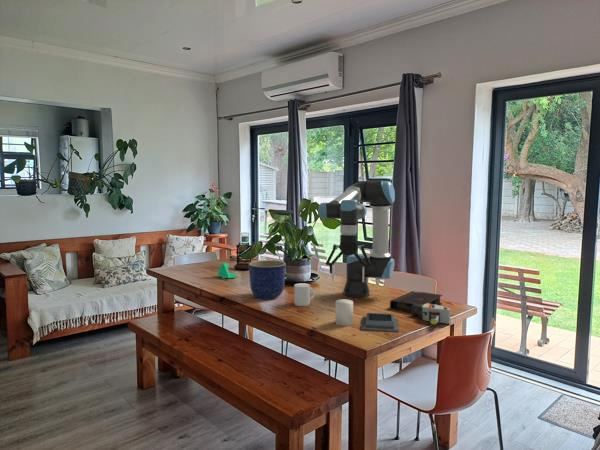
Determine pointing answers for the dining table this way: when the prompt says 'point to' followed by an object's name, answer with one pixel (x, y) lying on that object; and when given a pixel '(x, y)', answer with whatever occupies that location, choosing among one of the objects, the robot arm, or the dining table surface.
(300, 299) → the mug
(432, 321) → the film camera
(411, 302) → the diary
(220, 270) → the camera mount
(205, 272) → the dining table surface
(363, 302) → the dining table surface
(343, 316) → the plug
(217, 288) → the dining table surface
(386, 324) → the grey square tray
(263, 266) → the planter
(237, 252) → the dark piece
